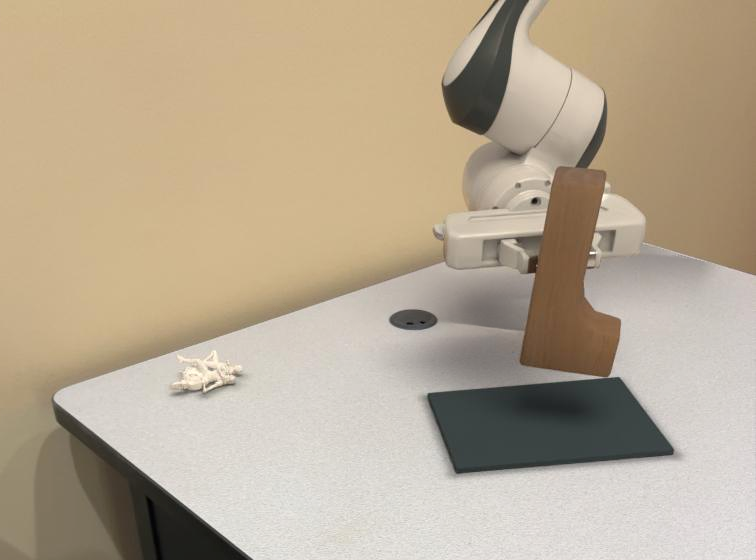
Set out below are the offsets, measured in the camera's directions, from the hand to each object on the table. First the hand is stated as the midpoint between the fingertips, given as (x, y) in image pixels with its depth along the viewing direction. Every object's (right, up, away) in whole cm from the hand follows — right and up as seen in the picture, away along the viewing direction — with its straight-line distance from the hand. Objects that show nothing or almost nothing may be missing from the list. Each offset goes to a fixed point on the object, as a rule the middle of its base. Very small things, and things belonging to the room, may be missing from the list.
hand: (562, 263), depth 86 cm
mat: (+1, -14, +9) cm, 17 cm away
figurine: (-36, -7, +21) cm, 42 cm away
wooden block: (+2, -8, +5) cm, 10 cm away
